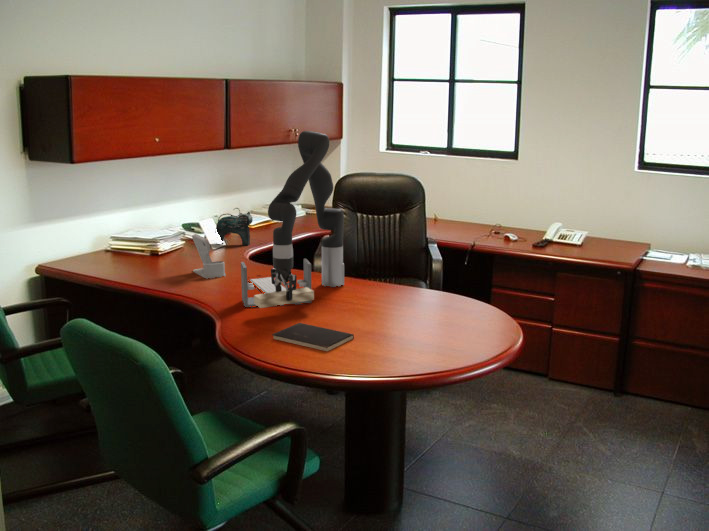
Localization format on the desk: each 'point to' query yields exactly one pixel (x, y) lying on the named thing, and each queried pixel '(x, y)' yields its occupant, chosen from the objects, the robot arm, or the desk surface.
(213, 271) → the phone holder
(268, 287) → the baseboard
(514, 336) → the desk surface
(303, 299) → the shelf board
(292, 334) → the hardcover book
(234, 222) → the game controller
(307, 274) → the shelf frame
